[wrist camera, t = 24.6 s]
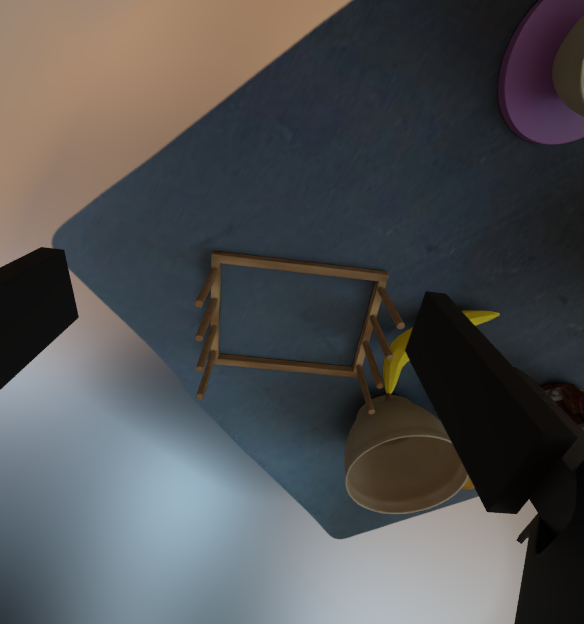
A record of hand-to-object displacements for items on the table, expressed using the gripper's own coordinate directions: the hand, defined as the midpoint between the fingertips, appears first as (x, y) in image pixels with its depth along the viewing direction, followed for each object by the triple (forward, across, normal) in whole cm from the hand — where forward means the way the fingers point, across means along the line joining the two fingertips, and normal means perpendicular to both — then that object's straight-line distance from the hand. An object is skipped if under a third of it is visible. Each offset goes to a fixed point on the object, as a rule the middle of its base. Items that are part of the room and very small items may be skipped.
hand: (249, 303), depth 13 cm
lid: (+27, +26, +14) cm, 40 cm away
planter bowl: (+27, +21, -32) cm, 47 cm away
